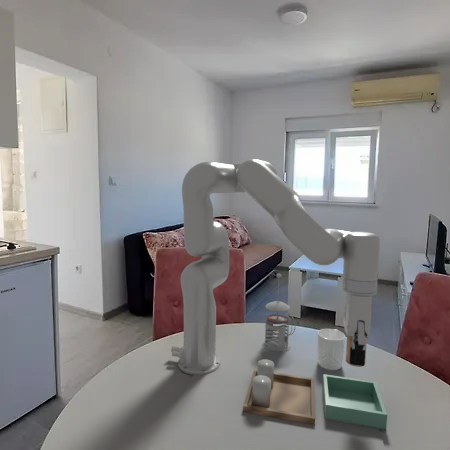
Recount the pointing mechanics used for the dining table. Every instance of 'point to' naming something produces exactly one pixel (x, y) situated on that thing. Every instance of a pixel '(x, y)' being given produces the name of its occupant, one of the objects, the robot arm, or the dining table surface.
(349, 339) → the brown smooth lump
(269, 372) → the pebble
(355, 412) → the bin
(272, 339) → the french press
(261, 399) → the pebble
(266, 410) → the tray
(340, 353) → the white cup
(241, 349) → the dining table surface
